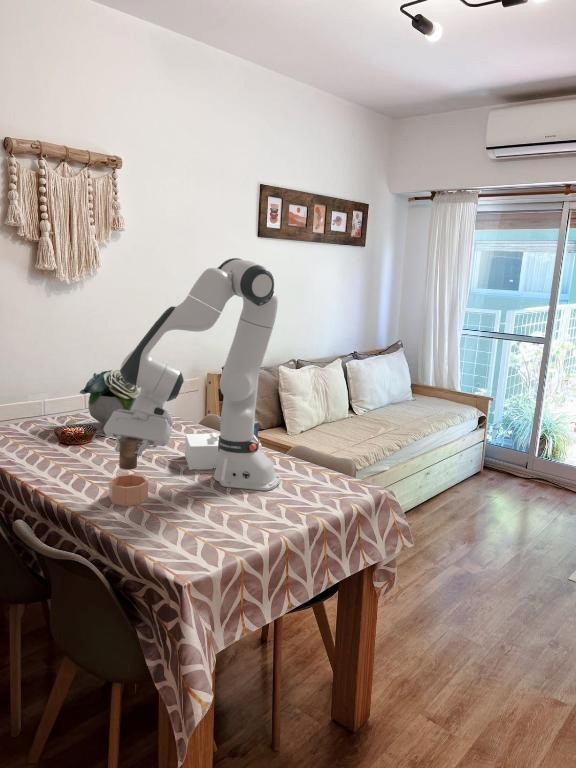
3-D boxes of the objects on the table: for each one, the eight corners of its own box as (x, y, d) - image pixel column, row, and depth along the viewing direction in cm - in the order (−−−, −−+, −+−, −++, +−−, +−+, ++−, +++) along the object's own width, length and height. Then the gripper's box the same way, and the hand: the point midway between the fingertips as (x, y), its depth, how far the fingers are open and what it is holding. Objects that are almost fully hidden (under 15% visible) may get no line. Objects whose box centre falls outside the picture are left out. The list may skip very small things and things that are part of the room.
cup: (153, 495, 178) (153, 478, 177) (134, 508, 168) (135, 489, 167) (122, 489, 181) (122, 472, 180) (103, 501, 171) (103, 483, 170)
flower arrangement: (123, 439, 229) (124, 378, 224) (70, 429, 237) (70, 370, 232) (157, 424, 252) (158, 368, 247) (108, 416, 260) (108, 361, 255)
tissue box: (184, 456, 215) (185, 428, 213) (251, 454, 222) (253, 427, 220) (189, 470, 201) (190, 439, 199) (260, 468, 208) (262, 438, 206)
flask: (254, 441, 238) (255, 416, 235) (259, 443, 236) (261, 417, 234) (239, 446, 230) (240, 420, 228) (244, 448, 229) (246, 421, 226)
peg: (140, 465, 174) (140, 439, 172) (131, 470, 169) (131, 444, 168) (125, 462, 175) (125, 437, 174) (115, 467, 171) (116, 441, 169)
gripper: (111, 402, 178) (91, 442, 171) (172, 412, 173) (155, 453, 166) (119, 413, 183) (100, 452, 176) (178, 423, 178) (161, 463, 171)
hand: (127, 452), depth 171 cm, fingers closed on peg, 5 cm apart
